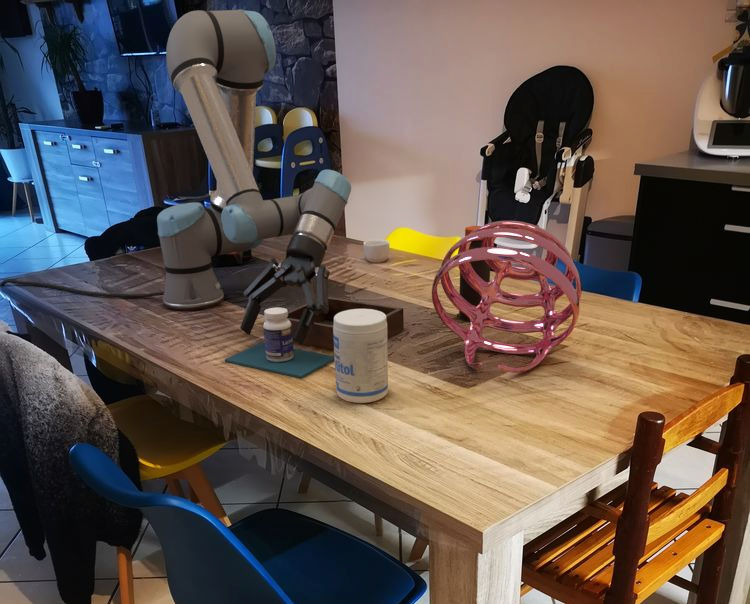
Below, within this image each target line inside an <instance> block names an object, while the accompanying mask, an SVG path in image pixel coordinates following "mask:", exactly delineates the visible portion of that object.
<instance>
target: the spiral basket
mask: <svg viewBox="0 0 750 604" xmlns="http://www.w3.org/2000/svg"><path fill="white" fill-rule="evenodd" d="M480 226H481V227H479V228H477V229H475V230H474V231H472V232H471V233H470V234H469V235H467V236H466V237H465V236H464V237H462V238H461V239H459V240H458V241H457V242H455V243H454V244H453V245H452V246H451V247H450V249H449V250H448V251H447V252H446V254H445V255H444V257H443V260H442V262H441V265H440V268H439V269H438V271H436V274H435V276H434V279H433V282H432V287H431V301H432V305H433V308H434V311H435V312H436V314H437V316H438V318H439V319H440V321H441V322H442V323H443V324H444V326H446V327H447V328H448V329H449V330H450V331H451V332H452V333H453V334H455V335H456V336H457V337H459V338H460V339H461V340H462V341H463V343H464V359H465V362H466V364H467V366H469V367H470V368H471V369H474V370H477V369H480V368H481V366H482V365H483V363H482V362H475V359H476V353H477V350H478V349H484V350H487V351H490V352H495V353H499V354H504V355H505V354H506V355H535V357H534V358H533V360H532V361H531V362H530V363H528V364H526V365H525V366H522V367H510V366H507V365H503V364H497V368H498V369H499V370H501V371H503V372H506V373H511V374H520V373H524V372H527V371H530V370H532V369H534V368H535V367H537V366H538V365H539V364H541V362H542V361H543V360H544V359H545V358H546V356H547V354H548V353H549V352H550V351H551V350H552V349H554V348H556V347H557V346H559V345H560V344H562V343H563V342H564V341H566V340H567V338H568V337H570V335H571V334H572V333H573V331H574V330H575V328H576V325H577V323H578V319H579V317H580V302H581V299H582V293H583V292H582V291H583V290H582V281H581V280H582V279H581V276H580V273H579V270H578V268H577V266H576V265H575V263H574V261H573V258H572V256H571V253H570V252H569V250H568V248H567V247H566V246H565V244H564V243H563V241H561V240H560V239H559V238H557V237H556V236H555V235H554V234H552V233H551V232H550V231H547V229H544V228H543V227H540V226H538V225H536V224H532V223H529V222H525V221H519V220H499V221H493V222H488V223H486V224H484V225H480ZM482 238H483V240H482V244H481V248H476V249H471V250H469V246H470V244H471V242H472V241H474V240H478V239H482ZM497 238H507V239H514V240H519V241H524V242H527V243H530V244H533V245H535V246H538V247H540V248H543V250H546V255H545V257H544V259H543V258H541V257H539V256H537V255H534V254H532V253H529V252H527V251H523V250H519V249H515V248H509V247H500V246H495V242H496V239H497ZM457 250H458V251H457ZM456 251H457V254H454V253H456ZM453 254H454V255H453ZM452 255H453V256H452ZM558 259H559V260H560V261H561V262H562V263H563V264H564V265H565V267H566V268H565V271H564V273H563V272H562V271H560V269H558V268H557V267H556V265H557V264H558ZM477 260H485V262H486V263H487V264H488V265H489V266H490V269H492V270H493V271H494V273H495V275H494V277H493V279H492V280H491V281H490V283H487V282H485V281H484V280H482V279H481V278H480V277H479V276H478V275H477V274H476V272H475V271H474V270H473V268H472V266H471V264H470V262H471V261H477ZM512 263H513V264H516V265H520V266H523V267H519V266H514V265H512ZM456 267H458V270H459V273H460V272H461V274H462V276H463V278H464V279H465V281H466V282H467V283H468V284H469V285H470V286H471V287H472V288H473V289H474V290H475V291H477V292H478V293H479V294H480V295H481V302H480V304H479V305H478V306H473V305H471V304H470V303H468V302H467V301H466V300H465V299H464V298H463V297H462V296H461V295H460V294H459V291H458V290H457V289H456V287H455V286H454V284H453V282H452V279H451V277H450V272H449V271H451V270H452V269H454V268H456ZM504 279H512V280H516V281H534V280H535V281H537V282H539V286H540V291H539V292H536V293H529V294H528V293H527V294H525V293H524V294H523V293H514V292H508V291H505V290H503V289H502V288H501V284H502V282H503V280H504ZM548 279H549V280H550V281H552V282H553V283H554V284H555V285H554V286H551V285H550V284H549V281H548ZM574 281H575V287H574V286H573V282H574ZM439 283H441V287H442V289H443V292H444V295H445V297H447V299H448V300H449V301H450V303H451V304H452V305H453V306H454V307H455V308H456V309H457V310H458V312H459V311H461V312H462V313H463V314H465V315H466V316H467V317H468V318H469V319H470V321H469V322H470V324H469V326H468V327H463V326H462V325H461V324H460V323H458V322H457V321H456V320H455V319H453V317H451V315H450V314H448V312H447V311H446V309H445V308H444V307H443V305H442V303H441V301H440V299H439V295H438V285H439ZM564 295H565V296H566V298H567V300H568V302H569V304H568V305H567V306H566V307H565V308H563V310H561V311H559V312H556V308H555V307H556V306H555V305H556V302H557V300H559V299H560V298H561V297H563V296H564ZM493 304H501V305H505V306H509V307H513V308H535V307H542V308H543V311H544V313H543V317H542V318H540V319H536V320H513V319H507V318H502V317H498V316H495V315H493V314H492V313H491V312H490V311H491V307H492V305H493ZM571 317H572V319H571V322H570V324H569V325H568V327H567V328H566V329H565V330H563V332H561V333H559V334H558V335H556V334H555V333H556V330H557V328H559V326H561V325H562V324H564V323H565V322H567V320H569V319H570V318H571ZM485 328H489V329H494V330H496V331H497V330H498V331H501V332H506V333H515V334H530V333H531V334H533V333H542V338H541V340H539V341H537V342H534V343H527V344H525V343H523V344H515V343H506V342H501V341H500V342H499V341H496V340H493V339H492V340H491V339H488V338H487V337H484V336H483V334H482V331H483V329H485Z"/></svg>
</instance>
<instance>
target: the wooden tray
mask: <svg viewBox="0 0 750 604" xmlns="http://www.w3.org/2000/svg"><path fill="white" fill-rule="evenodd" d="M316 300H317V298H316ZM307 306H308V303H307V302H306V303H305V304H302V305H300V306H298V307H295V308H293V309H291V310H289V311H288V317H287V319H288V320H289V321H290V322H291V326H292V337H293V335H294V333H295V331H296V328H297V326H298V323H299V321H300V319H301V316H302V314H303V311H304V309H308V310H310V309H309V308H308V307H309V306H308V307H307ZM328 306H329V312H328V313H327V314H324V313H320V314H319V315H317V318H316V320H315V322H314V325H313V327H312V328H311V329H309V330H308V332H307V335H306V337H305V340H304V342H303V344H302V345H306V346H310V347H316V348H322V349H326V350H332V351H334V337H333V325H331V324H327V323H326V324H325V323H322V321H323V320H325V319H327V320H331V321H334V316H335V315H336V314H338V313H340V312H342V311H346V310H351V309H372V310H377V311H381V312H383V313H384V314H385V315H386V321H387V340H389V339H390V338H393V337H394V336H395V335H397V334H399V333H402V332H403V331H404V330H405V329H404V328H405V327H404V324H405V323H404V308H403V307H397V306H391V305H386V304H385V305H384V304H377V303H371V302H365V301H359V300H351V299H345V298H338V297H331V296H328ZM320 322H321V323H320ZM294 343H295V344H298V343H297V342H296V341H295V340H294V339H293V344H294Z"/></svg>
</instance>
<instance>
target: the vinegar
mask: <svg viewBox="0 0 750 604" xmlns="http://www.w3.org/2000/svg"><path fill="white" fill-rule="evenodd" d="M481 226H482V225H469V226H466V227H465V229H464V237H466V236H467V235H469V234H470V233H471V232H472V231H474V230H475V229H477V228H479V227H481ZM482 240H483V238H482V239H478V240H474V241H472V242H471V244H470V246H469V250H471V249H476V248H481V244H482ZM470 264H471V266H472V268H473V270H474V271H475V272H476V274H477V275H478V276H479V277H480V278H481V279H482V280H484V281H485V282H487V283H490V282H491V267H490V266H489V265H488V264H487V263H486V262H485V260H477V261H471V262H470ZM458 293H459V294H460V295H461V296H462V297H463V298H464V299H465V300H466V301H467V302H468V303H470V304H471V305H473V306H478V305H479V304H480V302H481V295H480V294H479V293H478V292H477V291H475V290H474V289H473V288H472V287H471V286H470V285H469V284H468V283H467V282H466V281H465V279H464V278H463V276H462V274H461V272H460V271H459V291H458ZM458 317H459V319H460V320H463V321H466V322H470V319H469V318H468V317H467V316H466V315H465V314H463V313H462V312H461V311H459V310H458Z"/></svg>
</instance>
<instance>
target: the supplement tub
mask: <svg viewBox="0 0 750 604" xmlns="http://www.w3.org/2000/svg"><path fill="white" fill-rule="evenodd" d="M332 326H333V337H334V350H333V354H334V355H333V356H334V357H335V360H334V372H335V376H334V377H335V391H336V395H337V396H338V397H339V398H340V399H342V400H343V401H347V402H348V403H356V404H368V403H374V402H377V401H379V400H381V399H383V398H384V397H385V396H387V394H388V391H389V360H388V359H389V356H388V355H389V353H388V349H389V348H388V339H387V321H386V315H385V314H384V313H383V312H381V311H377V310H372V309H351V310H346V311H342V312H340V313H338V314H336V315H335V316H334V320H333V325H332Z"/></svg>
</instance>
